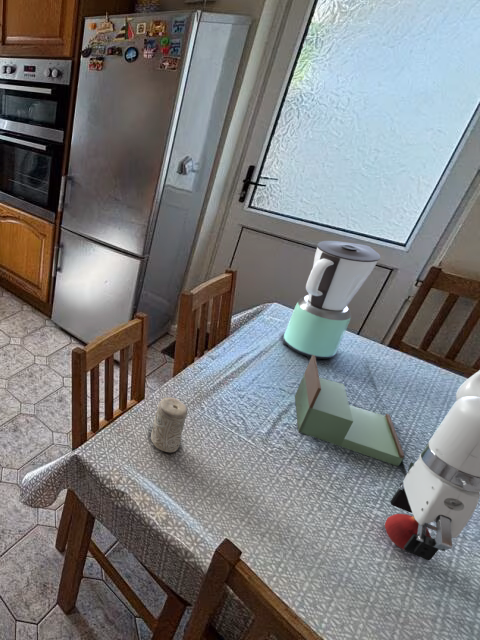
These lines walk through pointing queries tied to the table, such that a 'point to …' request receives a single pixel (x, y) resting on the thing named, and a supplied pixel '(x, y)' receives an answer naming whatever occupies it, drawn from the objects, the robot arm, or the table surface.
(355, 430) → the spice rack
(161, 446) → the carving
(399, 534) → the onion
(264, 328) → the table surface
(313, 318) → the juicer
